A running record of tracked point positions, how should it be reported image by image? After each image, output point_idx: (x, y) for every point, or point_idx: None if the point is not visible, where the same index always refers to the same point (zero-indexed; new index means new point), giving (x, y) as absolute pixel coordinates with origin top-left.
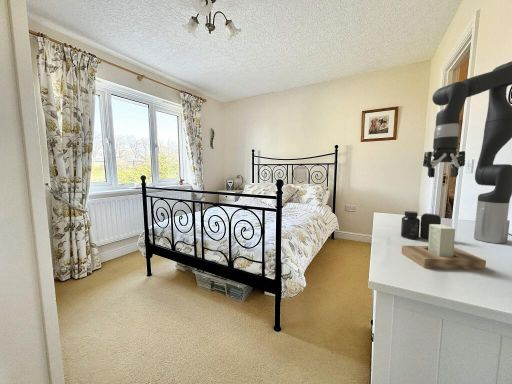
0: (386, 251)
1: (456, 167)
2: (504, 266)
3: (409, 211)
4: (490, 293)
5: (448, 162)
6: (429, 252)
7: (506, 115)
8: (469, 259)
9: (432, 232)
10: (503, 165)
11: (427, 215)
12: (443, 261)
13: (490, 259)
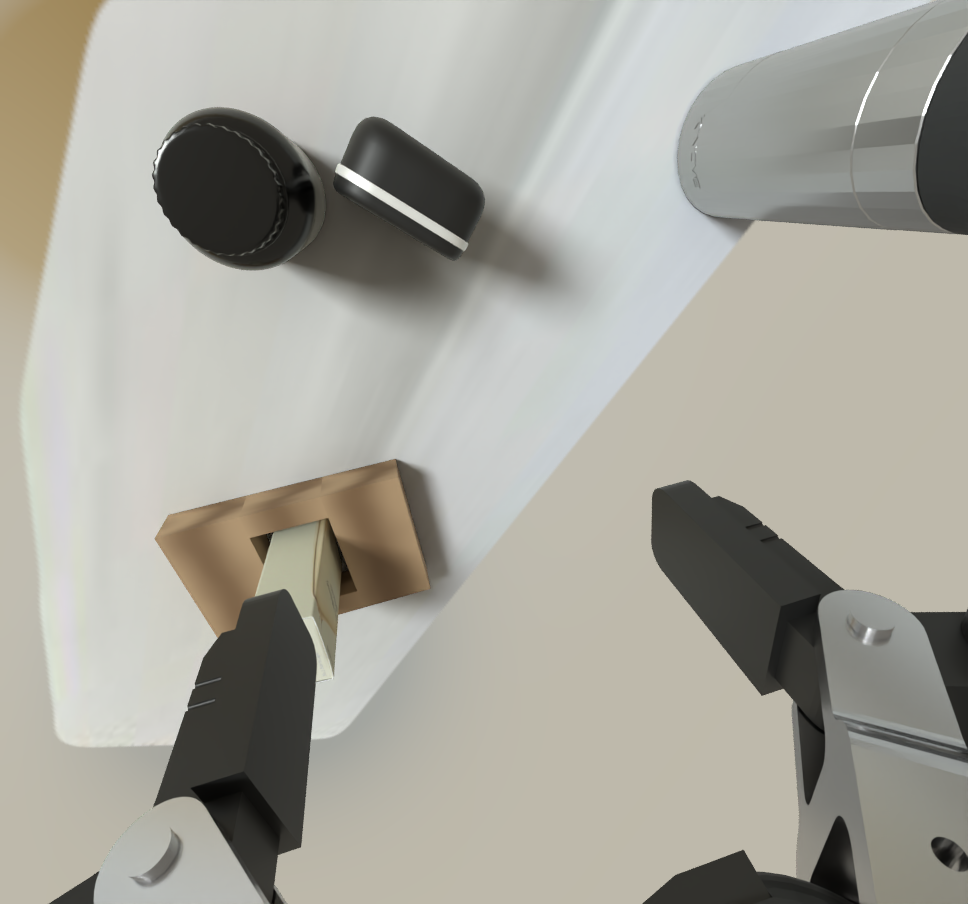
0: (95, 515)
1: (795, 692)
2: (508, 517)
3: (204, 170)
4: (350, 689)
5: (848, 789)
6: None
7: None
8: (380, 598)
9: None
10: None
11: (375, 214)
12: None
13: (511, 466)
